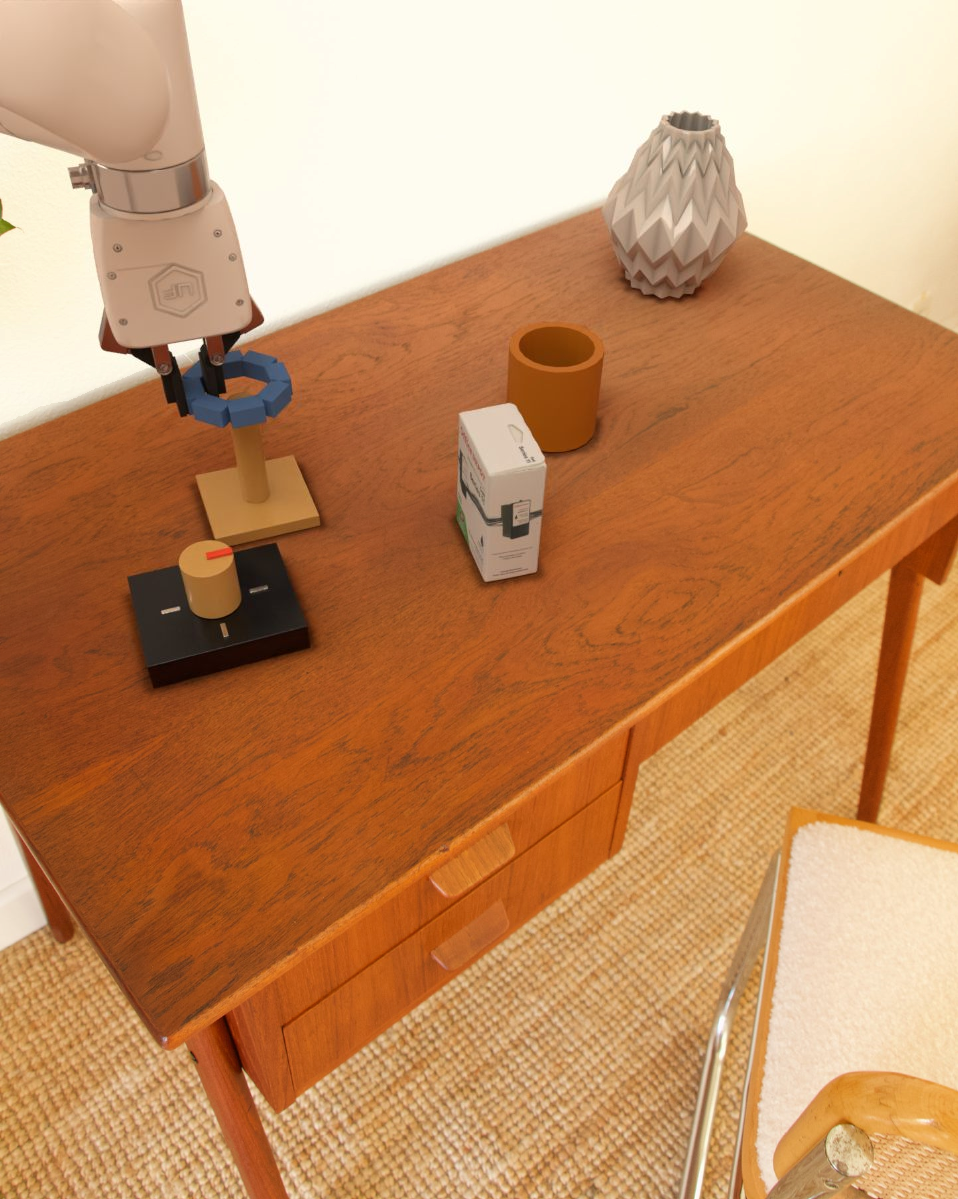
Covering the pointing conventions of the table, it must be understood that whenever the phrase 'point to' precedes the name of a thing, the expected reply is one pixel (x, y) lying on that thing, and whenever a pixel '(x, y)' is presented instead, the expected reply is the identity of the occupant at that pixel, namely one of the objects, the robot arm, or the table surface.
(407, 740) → the table surface
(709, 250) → the vase
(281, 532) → the wooden peg stand
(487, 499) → the ink box
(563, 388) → the mug
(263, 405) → the segmented ring
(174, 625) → the black dial base plate
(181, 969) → the table surface
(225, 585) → the rotary dial knob
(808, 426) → the table surface
